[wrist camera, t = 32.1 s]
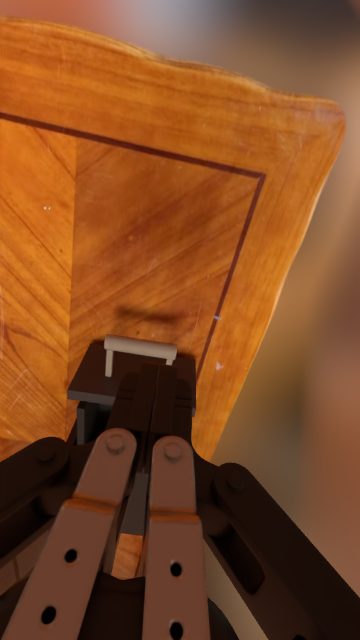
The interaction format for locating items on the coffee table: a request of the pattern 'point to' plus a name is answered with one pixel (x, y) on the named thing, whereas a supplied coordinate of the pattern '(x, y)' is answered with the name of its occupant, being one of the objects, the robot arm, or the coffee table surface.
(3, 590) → the planter
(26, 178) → the coffee table surface
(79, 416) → the pull-out drawer
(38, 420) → the coffee table surface
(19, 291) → the coffee table surface
